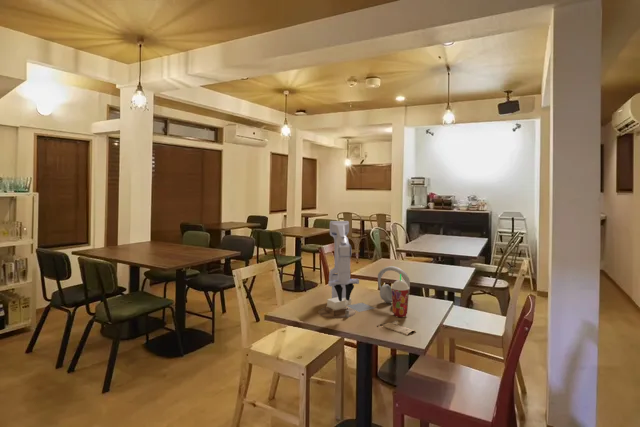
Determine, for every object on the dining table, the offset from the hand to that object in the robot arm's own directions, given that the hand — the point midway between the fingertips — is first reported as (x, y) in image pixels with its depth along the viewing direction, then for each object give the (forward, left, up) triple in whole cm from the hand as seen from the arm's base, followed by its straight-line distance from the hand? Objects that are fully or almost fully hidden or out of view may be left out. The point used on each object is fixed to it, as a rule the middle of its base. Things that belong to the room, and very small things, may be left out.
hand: (343, 300), depth 178 cm
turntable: (-2, -8, -9) cm, 13 cm away
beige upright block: (-4, -9, -8) cm, 13 cm away
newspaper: (-14, +17, -10) cm, 24 cm away
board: (-7, -8, -9) cm, 14 cm away
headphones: (-36, -6, -10) cm, 38 cm away
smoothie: (-27, +9, -10) cm, 30 cm away
